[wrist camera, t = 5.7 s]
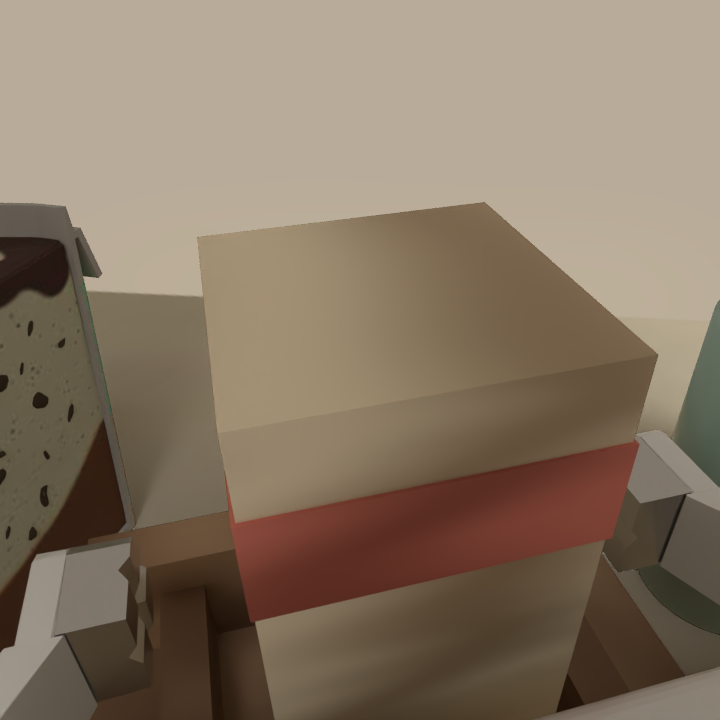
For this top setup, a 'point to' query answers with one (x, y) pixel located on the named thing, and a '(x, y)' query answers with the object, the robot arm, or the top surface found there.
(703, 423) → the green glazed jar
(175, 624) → the walnut rack
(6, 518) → the food container
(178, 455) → the top surface
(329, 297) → the birch block
